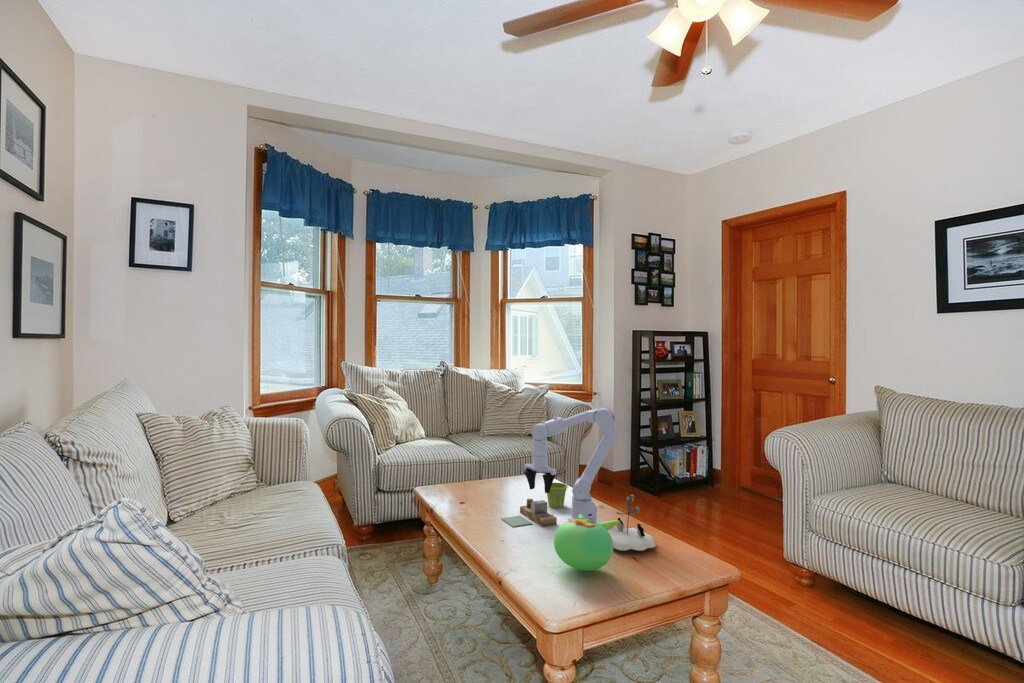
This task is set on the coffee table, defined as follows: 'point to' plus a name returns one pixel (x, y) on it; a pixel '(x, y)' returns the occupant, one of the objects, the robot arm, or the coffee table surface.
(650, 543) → the figurine
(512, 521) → the mat
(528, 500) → the plane body
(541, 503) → the grey rectangular block
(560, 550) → the round green toy
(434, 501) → the coffee table surface
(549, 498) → the plant pot
